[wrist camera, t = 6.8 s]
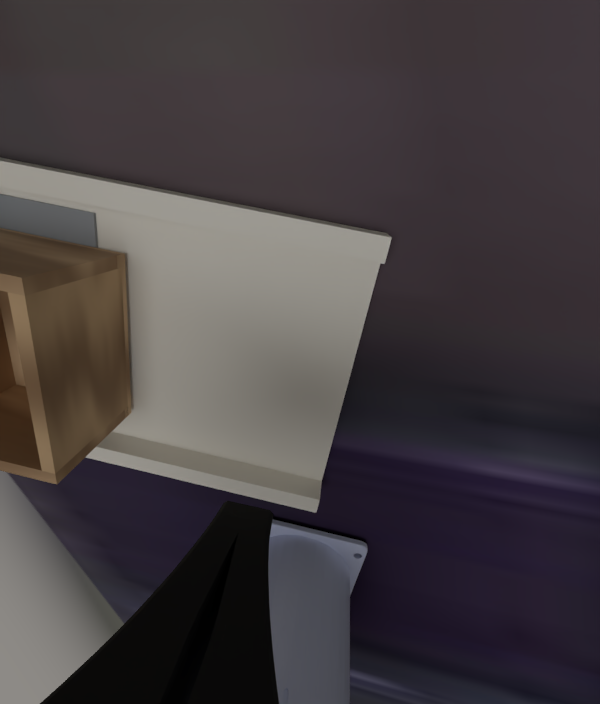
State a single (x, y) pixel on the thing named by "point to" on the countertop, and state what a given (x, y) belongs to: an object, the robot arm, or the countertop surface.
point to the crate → (59, 352)
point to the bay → (218, 326)
